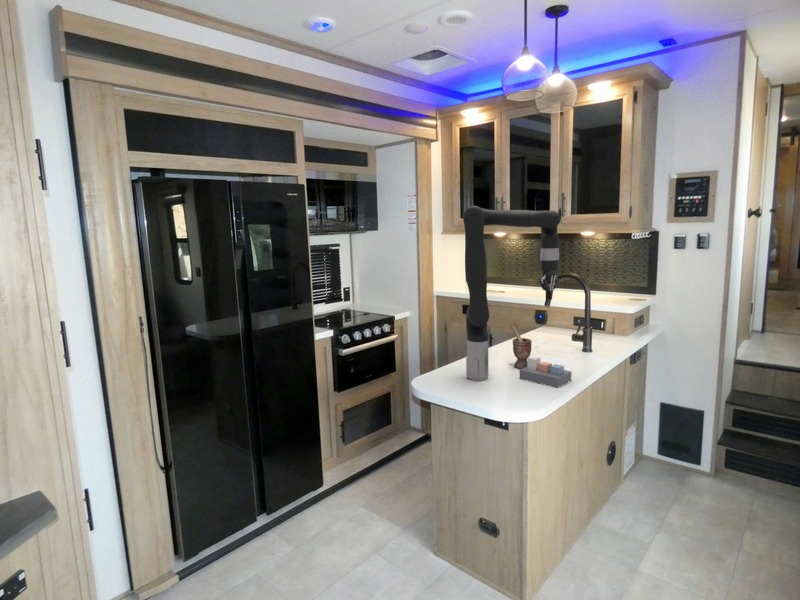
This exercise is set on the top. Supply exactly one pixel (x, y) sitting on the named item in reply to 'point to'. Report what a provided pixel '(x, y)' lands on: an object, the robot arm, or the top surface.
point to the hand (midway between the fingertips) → (548, 299)
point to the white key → (533, 363)
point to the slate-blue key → (557, 369)
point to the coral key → (545, 367)
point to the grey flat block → (545, 377)
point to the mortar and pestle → (520, 348)
